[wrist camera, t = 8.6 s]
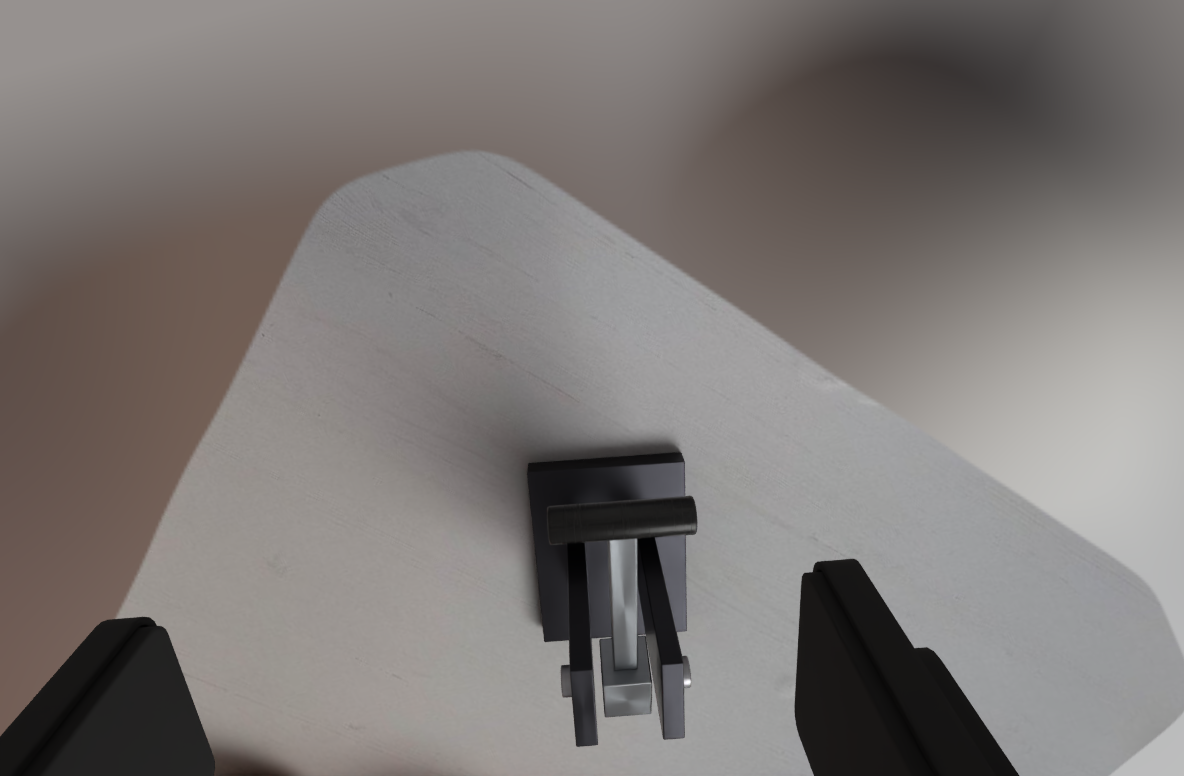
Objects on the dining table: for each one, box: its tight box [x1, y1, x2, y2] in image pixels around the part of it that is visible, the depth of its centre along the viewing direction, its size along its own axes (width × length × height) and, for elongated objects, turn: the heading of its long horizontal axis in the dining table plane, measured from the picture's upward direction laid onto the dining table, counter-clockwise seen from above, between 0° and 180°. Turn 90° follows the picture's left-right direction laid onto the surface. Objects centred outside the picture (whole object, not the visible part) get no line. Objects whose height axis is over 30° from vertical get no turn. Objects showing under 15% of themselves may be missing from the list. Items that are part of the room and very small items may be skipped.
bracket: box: [527, 452, 691, 747], centre depth 38 cm, size 12×9×13 cm
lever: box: [547, 496, 697, 717], centre depth 30 cm, size 13×6×2 cm, turn 3°
